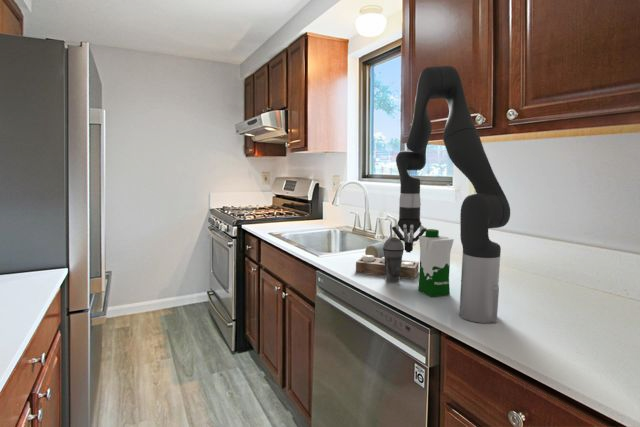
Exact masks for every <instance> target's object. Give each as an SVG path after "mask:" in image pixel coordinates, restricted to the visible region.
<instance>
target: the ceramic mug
mask: <svg viewBox="0 0 640 427" xmlns="http://www.w3.org/2000/svg"><path fill="white" fill-rule="evenodd" d="M384 243H385V241H379V242H376V243H372V244H369V245H367V246H366V248H365V252H364V255H373V256H374V258H382V257H384V251H383V247H384Z"/></svg>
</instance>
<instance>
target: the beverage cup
mask: <svg viewBox="0 0 640 427" xmlns="http://www.w3.org/2000/svg"><path fill="white" fill-rule="evenodd" d="M392 227H393V226H392V224H389V230H390V237H389V238H387V239H386V240H385V241H384V247H383V251H384V258H385V275H386V276H385V281H386V283H391V284H394V283H395V284H396V283H400V278H401V277H400V271H401V262H402V260H403V255H404V251H405V245H404V243H403V241H402V240H400V239H399V238H398V237H394V236H393V230H392Z"/></svg>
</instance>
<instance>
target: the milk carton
mask: <svg viewBox="0 0 640 427" xmlns="http://www.w3.org/2000/svg"><path fill="white" fill-rule="evenodd" d="M418 240H419V241H418V242H419V270H418V274H419V275H418V286H417V287H418V288H417V290H418V291H419V292H421V293H422V294H425V295H426V296H428V297H430V298H437V297H445V296H449V295H451V294H450V293H451V292H450V291H451V289H450V270H451V269H450V268H451V267H450V264H451V253H452V248H453V244H454V239H453V238H450V237H447V236H445V235H440V234H439V229H435V228H434V229H433V228H432V229H431V228H429V229H427V230H426V231H425V235H422V236H419V239H418Z"/></svg>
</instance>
